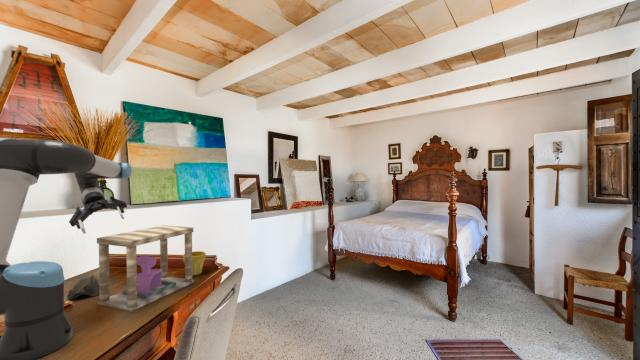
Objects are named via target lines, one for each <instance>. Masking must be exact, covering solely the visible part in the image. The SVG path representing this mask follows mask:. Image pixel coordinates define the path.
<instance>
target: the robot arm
mask: <svg viewBox="0 0 640 360" xmlns="http://www.w3.org/2000/svg"><path fill="white" fill-rule="evenodd" d="M62 174H64V175H65V174H74V176H75V179H76V181H77V186H78V188H79V189H78V190H79V191H80V194H81V197H82V200H83V204H84V206H83V207H79V206H77V207H76V208H75V212H74V213H73V215H72V216H71V218H70V219H69V221H68V222H69V224H70V226H71V227H75V226H76V228H77V230H81V232H82V234H86V233H87V232H86V229H85V226H84V221H86V220H87V219H88V217H89V216H91V215H93V213H96V212H99V211H102V210H108V209H110V210H116V211H117V212H118V213H119V215H120V217H121V219H122V220H125V217H124V215H123V214H124V213H125V210H124V209H125V208H128V205H127V203H126V201H123V200H120V199H118V198H116V197H114V196H110V197H109V198H108V199H106V198H105V195H104V193H103V191H102V188H101V187H100V186H101V185H100V183H99V180H98V179H102V180H103V179H108V180H110V179H113V180H115V179H118V180H119V179H123V180H124V179H129V178H131V176H132V166H131V164H130V163H128V162H116V161H113V160H110V159H108V158H104V157H102V156H99V155H96V154H94V152H93V151H91V150H90V149H88V148H85V147H83V146H79V145H76V144H72V143H69V142H66V141H61V140H54V139H28V138H27V139H22V138H21V139H20V138H18V139H17V138H13V137H12V138H11V137H9V138H0V316H4V329H3V332H2V334H1V336H0V360H35V359H38V358H41V357H42V358H43V356H46V355H49V354H51V353H54V352H55V351H57V350H59V349H61V348H63V347H64V346H66V345H67V344H68V343H69V342H71V340H72V338H73V327H72V325H71V323H70V321H69V319H68V318H67V315H66V313H65V293H64V292H65V286H64V285H65V284H64V283H65V277H64V269H63V267H62V265H61V264H59V263H57V262H54V261H30V262H29V261H28V262H20V263H16V264H15V263H14V264H10V263H9V261H7V258H8V254H9V251H10V248H11V245H12V241H13V239H14V235H15V232H16V231H17V230H16V229H17V226H18V223H19V220H20V216H21V213H22V212H23V207H24V204H25V202H26V198H27V195H28V192H29V189H30V186H33V185H35V184H37V183H38V181H39V178H40V176H41V175H62Z"/></svg>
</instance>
